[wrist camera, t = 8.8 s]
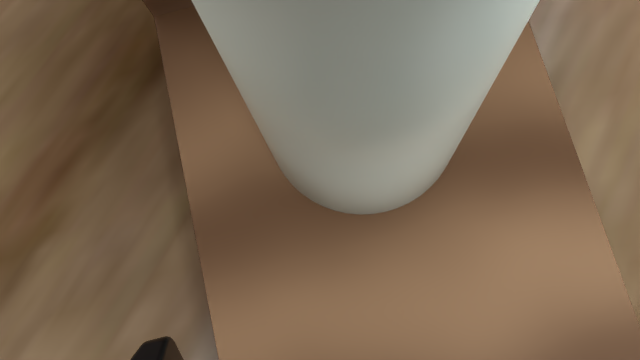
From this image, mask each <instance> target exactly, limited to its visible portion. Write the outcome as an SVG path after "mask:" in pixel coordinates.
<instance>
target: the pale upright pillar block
mask: <svg viewBox="0 0 640 360" xmlns="http://www.w3.org/2000/svg"><path fill="white" fill-rule="evenodd" d="M191 1H192V2H193V4H194V6H195V8H196V10H197V12H198V14H199V16H200V18H201V20H202V21H203V23H204V25H205V27H206V29H207V31H208V33H209V35H210V37H211V39H212V40H213V42H214V44H215V46H216V48H217V50H218V52H219V54H220V56H221V58H222V59H223V61H224V63H225V65H226V67H227V69H228V71H229V73H230V75H231V77H232V78H233V80H234V82H235V84H236V86H237V88H238V90H239V92H240V94H241V96H242V98H243V99H244V101H245V103H246V105H247V107H248V109H249V111H250V113H251V115H252V117H253V118H254V120H255V122H256V124H257V126H258V128H259V130H260V132H261V134H262V136H263V137H264V139H265V141H266V143H267V145H268V147H269V149H270V151H271V153H272V155H273V156H274V158H275V160H276V162H277V164H278V166H279V168H280V169H281V171H282V172H283V174H284V176H285V177H286V178H287V179H288V180H289V182H290V183H291V184H292V185H293V186H294V187H295V188H296V189H297V190H298V191H299V192H300V193H302V194H303V195H304V196H306V197H307V198H309V199H310V200H312V201H313V202H315V203H317V204H319V205H321V206H323V207H326V208H329V209H332V210H334V211H339V212H343V213H349V214H376V213H381V212H386V211H390V210H393V209H396V208H399V207H401V206H403V205H405V204H408V203H410V202H411V201H413V200H414V199H416V198H418V197H419V196H421V195H422V194H423V193H424V192H425V191H427V190H428V189H429V188H430V187H431V186H432V185H433V184H434V183H435V182H436V181H437V180H438V178H439V177H440V175H441V174H442V173H443V171H444V170H445V168H446V166H447V165H448V163H449V161H450V159H451V157H452V156H453V154H454V152H455V150H456V149H457V147H458V145H459V143H460V141H461V140H462V138H463V136H464V134H465V133H466V131H467V129H468V127H469V125H470V124H471V122H472V120H473V118H474V117H475V115H476V113H477V111H478V109H479V108H480V106H481V104H482V102H483V100H484V99H485V97H486V95H487V93H488V92H489V90H490V88H491V86H492V84H493V83H494V81H495V79H496V77H497V76H498V74H499V72H500V70H501V68H502V67H503V65H504V63H505V61H506V60H507V58H508V56H509V54H510V52H511V51H512V49H513V47H514V45H515V44H516V42H517V40H518V38H519V36H520V35H521V33H522V31H523V29H524V28H525V26H526V24H527V22H528V20H529V19H530V17H531V15H532V13H533V11H534V10H535V8H536V6H537V4H538V3H539V1H540V0H191Z"/></svg>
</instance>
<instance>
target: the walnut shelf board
mask: <svg viewBox="0 0 640 360" xmlns="http://www.w3.org/2000/svg"><path fill="white" fill-rule="evenodd" d="M143 2H144V3H145V5H146V6H147V7H148V9H149V10H150V12H151V13H152V15H153V16H154V19H155V25H156V30H157V35H158V40H159V46H160V51H161V56H162V62H163V67H164V72H165V78H166V83H167V88H168V93H169V99H170V104H171V109H172V115H173V120H174V125H175V130H176V136H177V141H178V146H179V152H180V157H181V162H182V168H183V173H184V178H185V183H186V189H187V194H188V199H189V205H190V210H191V215H192V220H193V226H194V231H195V236H196V242H197V247H198V252H199V258H200V263H201V268H202V273H203V279H204V284H205V289H206V295H207V300H208V305H209V310H210V316H211V321H212V326H213V332H214V337H215V342H216V348H217V353H218V358H219V360H640V326H639V323H638V321H637V318H636V315H635V312H634V310H633V307H632V304H631V301H630V299H629V296H628V293H627V290H626V288H625V285H624V282H623V279H622V277H621V274H620V271H619V268H618V266H617V263H616V260H615V257H614V255H613V252H612V249H611V246H610V244H609V241H608V238H607V235H606V233H605V230H604V227H603V225H602V222H601V219H600V216H599V214H598V211H597V208H596V205H595V203H594V200H593V197H592V194H591V192H590V189H589V186H588V183H587V181H586V178H585V175H584V172H583V170H582V167H581V164H580V161H579V159H578V156H577V153H576V150H575V148H574V145H573V142H572V139H571V137H570V134H569V131H568V128H567V126H566V123H565V120H564V118H563V115H562V112H561V109H560V107H559V104H558V101H557V98H556V96H555V93H554V90H553V87H552V85H551V82H550V79H549V76H548V74H547V71H546V68H545V65H544V63H543V60H542V57H541V54H540V52H539V49H538V46H537V43H536V41H535V38H534V35H533V32H532V30H531V27H530V24H529V21H528V22H527V24H526V26H525V28H524V29H523V31H522V33H521V35H520V36H519V38H518V40H517V42H516V44H515V45H514V47H513V49H512V51H511V52H510V54H509V56H508V58H507V60H506V61H505V63H504V65H503V67H502V68H501V70H500V72H499V74H498V76H497V77H496V79H495V81H494V83H493V84H492V86H491V88H490V90H489V92H488V93H487V95H486V97H485V99H484V100H483V102H482V104H481V106H480V108H479V109H478V111H477V113H476V115H475V117H474V118H473V120H472V122H471V124H470V125H469V127H468V129H467V131H466V133H465V134H464V136H463V138H462V140H461V141H460V143H459V145H458V147H457V149H456V150H455V152H454V154H453V156H452V157H451V159H450V161H449V163H448V165H447V166H446V168H445V170H444V171H443V173H442V174H441V175H440V177H439V178H438V180H437V181H436V182H435V183H434V184H433V185H432V186H431V187H430V188H429V189H428V190H427V191H425V192H424V193H423V194H422V195H421V196H419V197H418V198H416V199H414V200H413V201H411V202H410V203H408V204H405V205H403V206H401V207H399V208H396V209H393V210H390V211H386V212H381V213H376V214H349V213H343V212H339V211H334V210H332V209H329V208H326V207H323V206H321V205H319V204H317V203H315V202H313V201H312V200H310V199H309V198H307V197H306V196H304V195H303V194H302V193H300V192H299V191H298V190H297V189H296V188H295V187H294V186H293V185H292V184H291V183H290V182H289V180H288V179H287V178H286V177H285V176H284V174H283V172H282V171H281V169H280V168H279V166H278V164H277V162H276V160H275V158H274V156H273V155H272V153H271V151H270V149H269V147H268V145H267V143H266V141H265V139H264V137H263V136H262V134H261V132H260V130H259V128H258V126H257V124H256V122H255V120H254V118H253V117H252V115H251V113H250V111H249V109H248V107H247V105H246V103H245V101H244V99H243V98H242V96H241V94H240V92H239V90H238V88H237V86H236V84H235V82H234V80H233V78H232V77H231V75H230V73H229V71H228V69H227V67H226V65H225V63H224V61H223V59H222V58H221V56H220V54H219V52H218V50H217V48H216V46H215V44H214V42H213V40H212V39H211V37H210V35H209V33H208V31H207V29H206V27H205V25H204V23H203V21H202V20H201V18H200V16H199V14H198V12H197V10H196V8H195V6H194V4H193V2H192V1H191V0H143Z"/></svg>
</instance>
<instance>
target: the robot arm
mask: <svg viewBox="0 0 640 360" xmlns="http://www.w3.org/2000/svg"><path fill="white" fill-rule="evenodd" d="M131 360H183V358H182V356H181V354H180V352H179V350H178V348H177V346H176V344H175V342H174V340H173V339H172V338H171V337H167V336H166V337H161V338H157V339H153V340H149V341H146V342H144V343H143V344H142V345H141V346H140V348H139V349H138V350H137V352H136V353H135V354H134V356H133V357H132V358H131Z"/></svg>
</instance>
